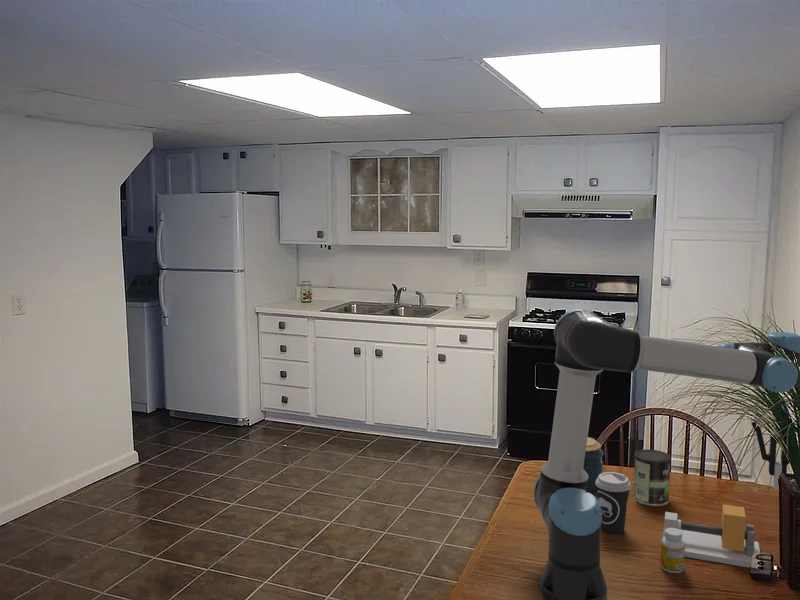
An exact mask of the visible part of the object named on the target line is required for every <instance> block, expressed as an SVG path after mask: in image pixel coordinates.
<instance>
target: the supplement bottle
mask: <svg viewBox="0 0 800 600" xmlns="http://www.w3.org/2000/svg"><path fill="white" fill-rule="evenodd" d="M684 550H685V543H684V541H683V540H682V531H680V530H679V529H676V528H667V529H665V537H662V538H661V544H660V567H661V569H663V571H665V572H667V573H671V574H679V573H683V571H684V569H685V557H684Z"/></svg>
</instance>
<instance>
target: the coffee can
mask: <svg viewBox="0 0 800 600" xmlns="http://www.w3.org/2000/svg"><path fill="white" fill-rule="evenodd" d="M671 459H672V457H671V455H670V454H669V453H667V452H665V451H661V450H657V449H656V450H655V449H639V450H637V451H635V452H634V473H633V475H634V480H633V483H634V484H633V499H634V501H635V502H637V503H639V504H641V505H645V506H649V507H663V506H666V505H668V504H669V500H670V499H669V497H670V474H671V473H670V471H671Z"/></svg>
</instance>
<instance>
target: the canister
mask: <svg viewBox="0 0 800 600" xmlns="http://www.w3.org/2000/svg"><path fill="white" fill-rule="evenodd" d="M601 448H602V445H601V443H600V442H598V441H597V440H596V439H594V438H593V437H587V444H586V452H585V459H584V466H583V469H584V470H585V472H586V473H587V474H588V484H587V491H586V493H591V494H592V495H594V494H598V492H597V486H596V484H595V482H596V479H597V478H598V476H599V475H600V474H601V473H604V471H603V468H604V466H603V465H604V461H603V460H602V459H603V456H604V454H605V452H604V451H603V450H602V449H601Z"/></svg>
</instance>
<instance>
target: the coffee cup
mask: <svg viewBox="0 0 800 600" xmlns="http://www.w3.org/2000/svg"><path fill="white" fill-rule="evenodd" d="M595 484H596V486H597V499H598V501H599V503H600V506H601V513H602V521H601V532H603V533H606V534H610V535H620V534H622V533H624V531H625V527H626V518H627V512H628V511H627V510H628V503H629V495H630V490H631V489H632V483H631V481H630V480H629V477H628V476H627V475H625V474H623V473H620V472H615V471H605V472H603V473H601V474H600V475H599V476H598V478H597V479H596V482H595Z"/></svg>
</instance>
